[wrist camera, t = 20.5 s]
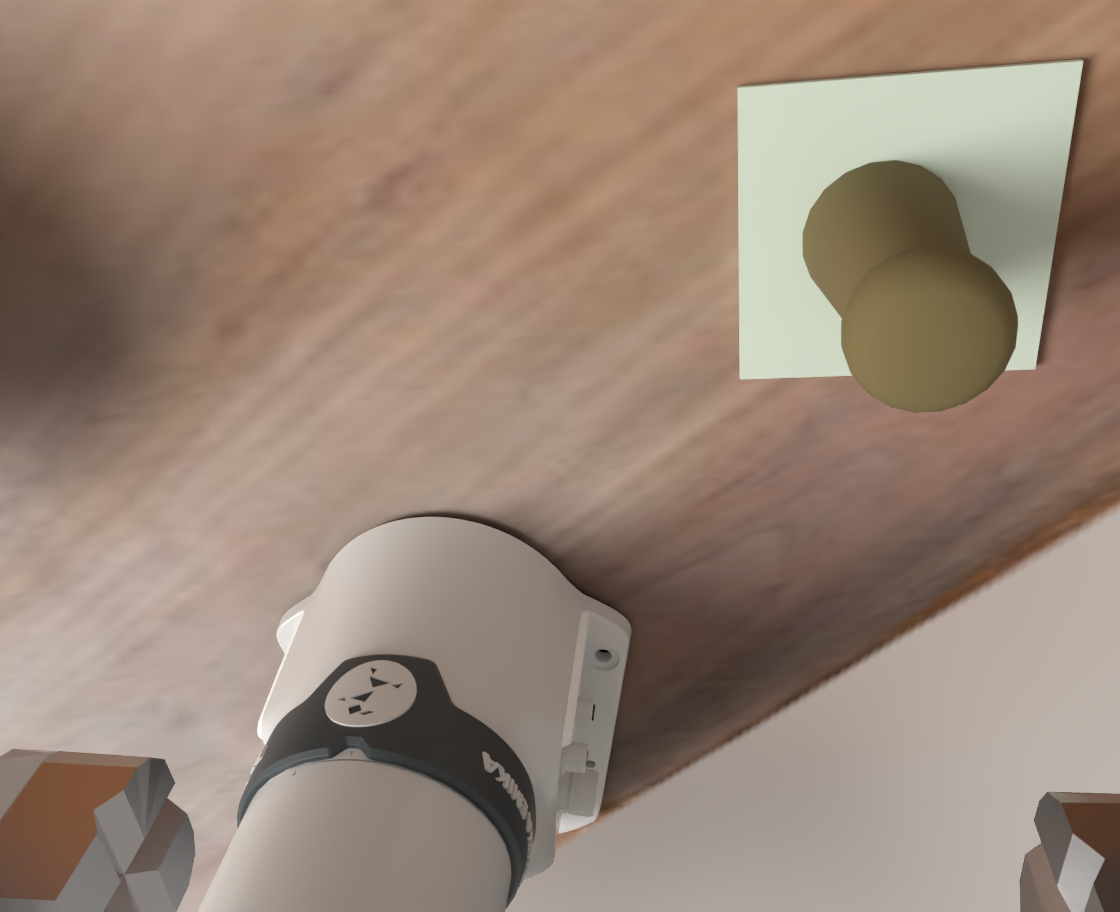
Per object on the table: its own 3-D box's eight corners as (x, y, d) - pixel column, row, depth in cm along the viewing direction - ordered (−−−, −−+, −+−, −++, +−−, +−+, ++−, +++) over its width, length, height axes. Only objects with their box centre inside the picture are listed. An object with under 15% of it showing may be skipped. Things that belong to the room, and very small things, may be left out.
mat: (1032, 365, 41) (1035, 369, 41) (739, 375, 43) (739, 379, 43) (1079, 59, 35) (1083, 60, 35) (737, 85, 37) (738, 87, 37)
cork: (847, 135, 37) (897, 224, 28) (992, 194, 37) (1091, 302, 28) (775, 278, 40) (799, 401, 31) (910, 331, 41) (974, 468, 31)
